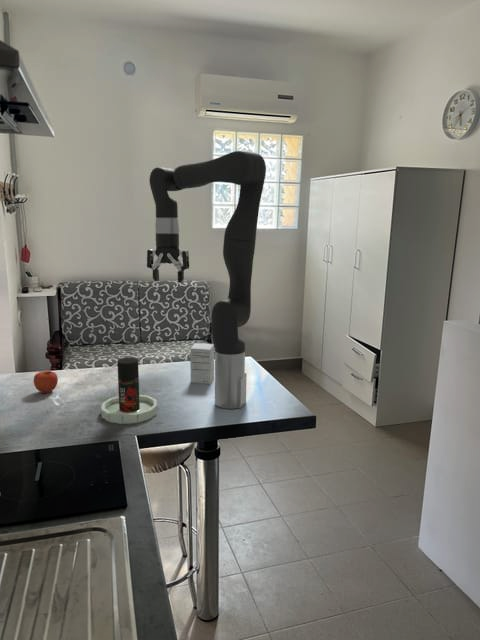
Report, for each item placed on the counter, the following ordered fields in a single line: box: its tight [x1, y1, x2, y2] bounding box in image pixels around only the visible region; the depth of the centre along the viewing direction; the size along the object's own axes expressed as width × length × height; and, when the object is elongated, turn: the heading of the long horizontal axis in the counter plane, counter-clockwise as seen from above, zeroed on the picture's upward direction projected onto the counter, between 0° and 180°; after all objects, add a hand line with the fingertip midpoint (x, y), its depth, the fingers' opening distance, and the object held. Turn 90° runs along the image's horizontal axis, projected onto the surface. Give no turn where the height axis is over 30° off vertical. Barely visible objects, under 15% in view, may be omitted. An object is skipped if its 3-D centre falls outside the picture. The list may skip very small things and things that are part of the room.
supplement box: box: [189, 342, 215, 385], centre depth 172 cm, size 7×7×13 cm
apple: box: [33, 368, 59, 395], centre depth 159 cm, size 7×7×8 cm
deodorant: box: [116, 357, 140, 413], centre depth 143 cm, size 6×6×15 cm
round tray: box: [100, 394, 158, 425], centre depth 144 cm, size 16×16×2 cm
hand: (168, 281), depth 161 cm, fingers open, 8 cm apart
